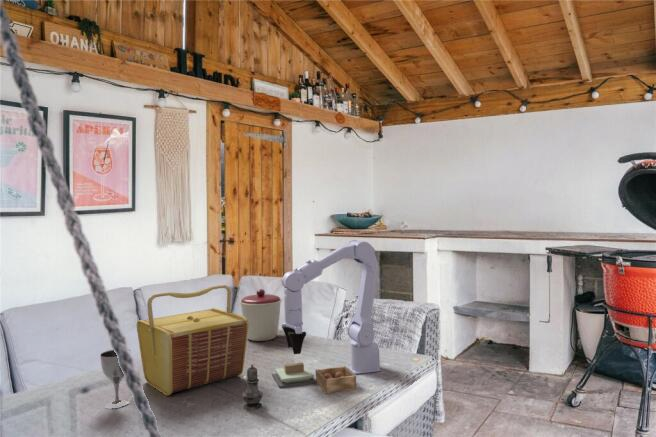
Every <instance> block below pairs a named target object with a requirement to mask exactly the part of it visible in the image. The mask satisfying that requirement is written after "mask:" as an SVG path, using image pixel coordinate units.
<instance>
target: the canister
mask: <svg viewBox="0 0 656 437" xmlns="http://www.w3.org/2000/svg"><path fill="white" fill-rule="evenodd" d="M265 292H266V291H265V290H264V289H262V288H261V289H257V290H256V294H252V295H246V296H244V297H243V298H241V299H240V300H239V304H240V306H241V314H242V315H241V316H244V317H245V318H246V319H247V320H248V335H247V340H249V341H253V342H265V341H267V342H268V341H270V340H273V339H275V338H276V336H278V333H279V325H280V316H281V314H280V313H281V303H282V301H283V299H282V298H281V297H279V296H278V295H275V294H267V293H265Z"/></svg>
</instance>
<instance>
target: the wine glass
mask: <svg viewBox="0 0 656 437" xmlns="http://www.w3.org/2000/svg"><path fill="white" fill-rule="evenodd" d="M128 350H129V351H130V352H131V349H128ZM100 365H101V370H102V373H103V375H104V376H105V377H106V378H107V379H108V380H109V381H111V383H112V384H113V387H114V388H113V389H114V393H115V394H114V395H115V397H114V398H115V399H114V400H115V401H113V400H112V401H113V402H112V404H117V403H120V402H121V401H122V400H119V399H120V398H119V388H120V384H121V381H122V379H124V377H125V376H124V374H123V372H122V370H121V368H120V366H119V363H118V358H117V355H116V353H115V352H114V349H109V350H106V351H103V352H102V353H100Z"/></svg>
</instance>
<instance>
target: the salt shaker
mask: <svg viewBox="0 0 656 437" xmlns="http://www.w3.org/2000/svg"><path fill="white" fill-rule="evenodd" d="M246 378H247V379H246V380H245V382H246V387H247V388H246V390H245V391H244V392H243V393H241V394H242V395H241V396H242V397H243V401H244V402H245V404H244V405H243V409H244V410H247V411H255V410H259V409H261V408H262V407H263V403H262V402H261V401H262V398H263V396H264V392H263V391H262V390H259V381H260V380H259V378H258V368H257V367H255V366H254V364H250V367H248V368H247V370H246Z"/></svg>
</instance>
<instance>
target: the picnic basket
mask: <svg viewBox="0 0 656 437" xmlns="http://www.w3.org/2000/svg"><path fill="white" fill-rule="evenodd" d="M217 289H226V292H227V294H226V295H227V297H226V310H223V309H220V308H216V307H212V308H210V309H209V308H208V309H204V310H197V311H191V312H185V313H180V314H173V315H169V316H168V315H167V316H162V317H156V318H154V314H153V306H152V305H153V304H152V303H153V300H154V299H156V298H159V297H165V296H166V297H168V296H169V297H173V298H176V299H177V298H178V299H179V298H180V299H188V298H195V297H196V298H197V297H201V296H202V295H206V294H208V293H210V292H211V291H213V290H217ZM231 302H232V290H231V287H230V286H228V285H226V284H221V285H215V286H210V287H207V288H203V289H201V290H199V291H198V290H197V291H193V292H186V293H185V292H184V293H183V292H170V291H169V292H159V293H154V294H152V295H151V296H150V297H149V298H148V299H147V303H146V306H147V315H148V319H139V320H137V322H136V333H137V339H138V346H139V352H140V357H141V365H142V373H143V376H144V379H145V381H146V383H147V384H148V385H149V386H151V387H153V389H155V388H156V389H155V390H157V391H158V392H160V393H161V392H162V393H161V394H163V395H164V396H170V395H172V394H173V393H177V392H182V391H185V390H189V389H192V388H196V387H200V386H203V385H207V384H210V383H214V382H217V381H221V380H225V379H228V378H229V379H230V378H232V377H233V378H234V377H240V376H242V374H243V373H244V372H243V371H244V366H245V357H246V350H247V342H248V338H247V335H248V320H247V319H246V318H245V317H244V316H243V315H240V314H237V313H232V312H231Z"/></svg>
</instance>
